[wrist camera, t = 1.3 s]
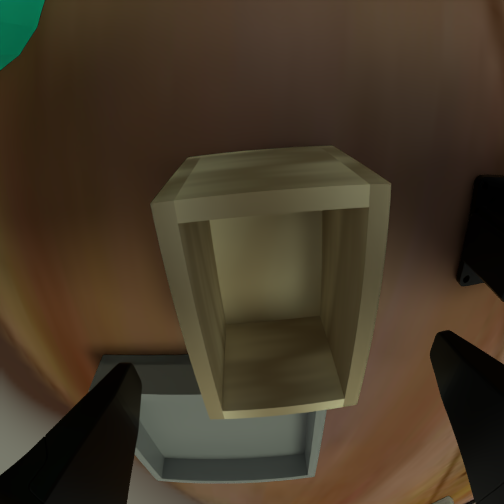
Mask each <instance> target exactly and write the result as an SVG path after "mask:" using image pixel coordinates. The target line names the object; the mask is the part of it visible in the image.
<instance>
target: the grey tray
mask: <svg viewBox="0 0 504 504" xmlns="http://www.w3.org/2000/svg"><path fill="white" fill-rule="evenodd" d="M120 362H127V363H132V364H133V365H134V367H135V369H136V371H137V373H138V375H139V377H140V379H141V382H142V395H141V407H140V420H139V431H138V438H137V443H136V449H135V455H136V456H137V458H138V459H139V460H140V461H141V462H142V464H143V465H144V466H145V467H146V468H147V469H148V471H149V472H150V473H151V474H152V475H153V476H154V477H155V478H156V480H158V481H170V482H185V483H253V482H269V481H281V480H291V479H300V478H307V477H314V476H315V472H316V467H317V462H318V456H319V451H320V446H321V440H322V435H323V429H324V423H325V417H326V411H327V410H320V411H313V412H305V413H297V414H289V415H279V416H268V417H255V418H238V419H211V420H210V418H209V415H208V412H207V410H206V407H205V404H204V401H203V398H202V395H201V392H200V389H199V386H198V383H197V380H196V377H195V374H194V370H193V367H192V364H191V361H190V358H189V355H103V357H102V359H101V361H100V364H99V366H98V369H97V371H96V374H95V376H94V379H93V381H92V384H91V386H90V389H89V391H90V390H91V389H92V388H93V387H94V386H95V385H96V384H97V383H98V382H99V381H100V380H102V379H103V378H104V377H105V376H106V375H107V374H108V373H109V372H110V371H111V370H112V369H113V368H114V367H115V366H116V365H117V364H118V363H120Z"/></svg>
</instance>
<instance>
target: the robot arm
mask: <svg viewBox="0 0 504 504" xmlns="http://www.w3.org/2000/svg"><path fill="white" fill-rule="evenodd" d="M483 182H484V185H483V187H482V184H483ZM464 277H465V278H464ZM456 280H457V282H458V283H459V284H460V285H461V286H469V285H474V284H479V283H485V284H486V285H487V286H488V287H489V288H490V289H491V290H492V291H493V292H494V293H495V294H496V295H497V296H498V297H499V298H500V299H501V301H503V302H504V176H503V175H479V176H477V177H476V179H475V182H474V188H473V195H472V202H471V209H470V215H469V221H468V227H467V232H466V237H465V242H464V247H463V252H462V256H461V261H460V265H459V269H458V273H457V278H456ZM430 359H431V363H432V366H433V369H434V373H435V376H436V380H437V384H438V387H439V391H440V394H441V398H442V401H443V404H444V406H445V409H446V412H447V414H448V417H449V420H450V423H451V426H452V428H453V431H454V434H455V437H456V440H457V443H458V446H459V449H460V452H461V455H462V459H463V462H464V465H465V468H466V472H467V475H468V479H469V482H470V486H471V490H472V493H473V497H474V501H475V504H504V364H502V363H501V362H499V361H498V360H496V359H495V358H493V357H491V356H490V355H488V354H487V353H485V352H484V351H482V350H480V349H479V348H477V347H476V346H474V345H473V344H471V343H469V342H468V341H466V340H465V339H463V338H461V337H460V336H458V335H457V334H455V333H453V332H452V331H450V330H446V331H441V332H438V333H437V334H436V336H435V339H434V342H433V345H432V348H431V351H430ZM141 395H142V382H141V379H140V377H139V375H138V373H137V371H136V369H135V367H134V365H133V364H132V363H127V362H120V363H118V364H117V365H116V366H115V367H114V368H113V369H112V370H111V371H110V372H109V373H108V374H107V375H106V376H105V377H104V378H103V379H102V380H100V381H99V382H98V383H97V384H96V385H95V386H94V387H93V388H92V389H91V390H90V391H89V392H88V393H87V394H86V395H85V396H84V397H83V398H82V399H81V400H80V401H79V402H78V403H77V404H76V405H75V406H74V407H73V408H72V409H71V410H70V411H69V412H68V413H67V414H66V415H65V416H64V417H63V418H62V419H61V420H60V421H59V422H58V423H57V424H56V425H55V426H54V427H53V428H52V429H51V430H50V431H49V432H48V433H47V434H46V436H45V437H43V438H42V439H41V440H40V441H39V442H38V443H37V444H36V445H35V446H34V447H33V448H32V449H31V450H30V451H29V452H28V453H27V454H25V455H24V456H23V457H22V458H21V459H20V460H18V461H17V462H16V463H15V464H14V465H12V466H11V467H10V468H9V469H7V470H6V471H5V472H4V473H3V474H1V475H0V504H127V498H128V491H129V485H130V484H129V483H130V478H131V472H132V466H133V460H134V454H135V449H136V443H137V438H138V431H139V420H140V407H141Z"/></svg>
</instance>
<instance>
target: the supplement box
mask: <svg viewBox="0 0 504 504" xmlns="http://www.w3.org/2000/svg"><path fill="white" fill-rule="evenodd" d="M433 504H454V502H453V499H452V498H450V497H449V496H447V497H445V498H443V499H441V500H439V501H437V502H435V503H433Z"/></svg>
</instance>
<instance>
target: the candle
mask: <svg viewBox="0 0 504 504" xmlns="http://www.w3.org/2000/svg"><path fill="white" fill-rule="evenodd" d="M44 1H45V0H0V70H1V69H3V68H4V67H5V66H6V65H7V64H9V63H10V62H11V61H13V60H14V59H15V58H16V57H18V56H19V55H20V53H21V52H22V50H23V48H24V47H25V45H26V44H27V42H28V41H29V39H30V37H31V36H32V34H33V33H34V31H35V30H36V28H37V26H38V22H39V18H40V15H41V11H42V8H43V4H44Z"/></svg>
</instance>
